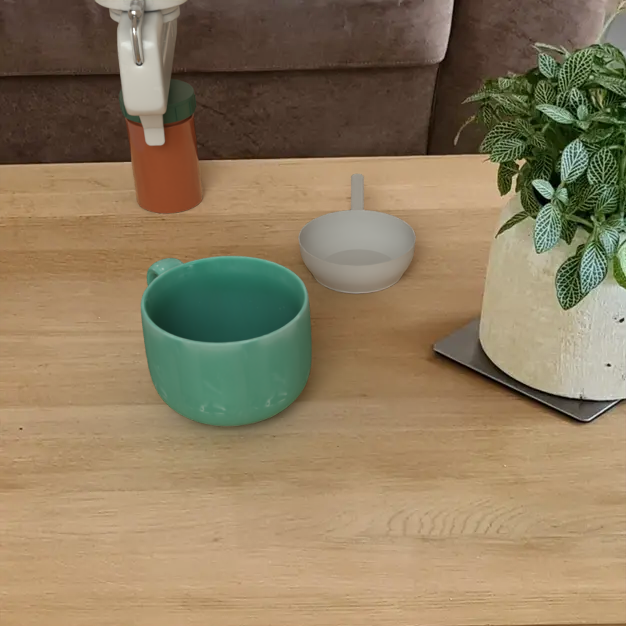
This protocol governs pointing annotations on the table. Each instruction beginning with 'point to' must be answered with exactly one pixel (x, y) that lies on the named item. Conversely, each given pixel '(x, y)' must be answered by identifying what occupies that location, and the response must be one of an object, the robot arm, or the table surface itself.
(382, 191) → the table surface
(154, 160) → the jam jar
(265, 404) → the mug
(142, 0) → the robot arm
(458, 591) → the table surface
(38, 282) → the table surface
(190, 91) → the jar lid
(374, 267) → the small pan
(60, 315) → the table surface
